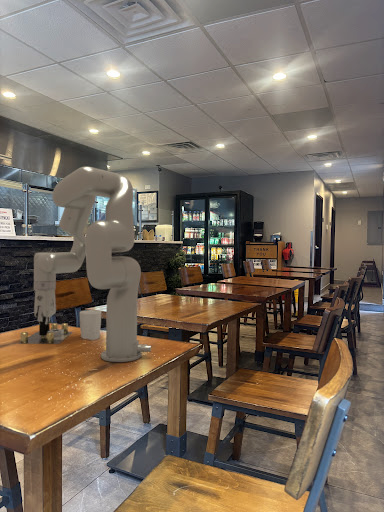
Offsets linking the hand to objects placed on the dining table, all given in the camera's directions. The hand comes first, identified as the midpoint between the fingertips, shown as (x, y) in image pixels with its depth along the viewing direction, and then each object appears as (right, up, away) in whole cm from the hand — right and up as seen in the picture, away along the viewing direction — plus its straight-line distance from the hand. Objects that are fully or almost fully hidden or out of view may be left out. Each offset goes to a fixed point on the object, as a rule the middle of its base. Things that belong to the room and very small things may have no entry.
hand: (44, 334), depth 137 cm
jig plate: (+1, -2, 0) cm, 2 cm away
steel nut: (+4, -1, 0) cm, 4 cm away
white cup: (+17, -2, +2) cm, 17 cm away
